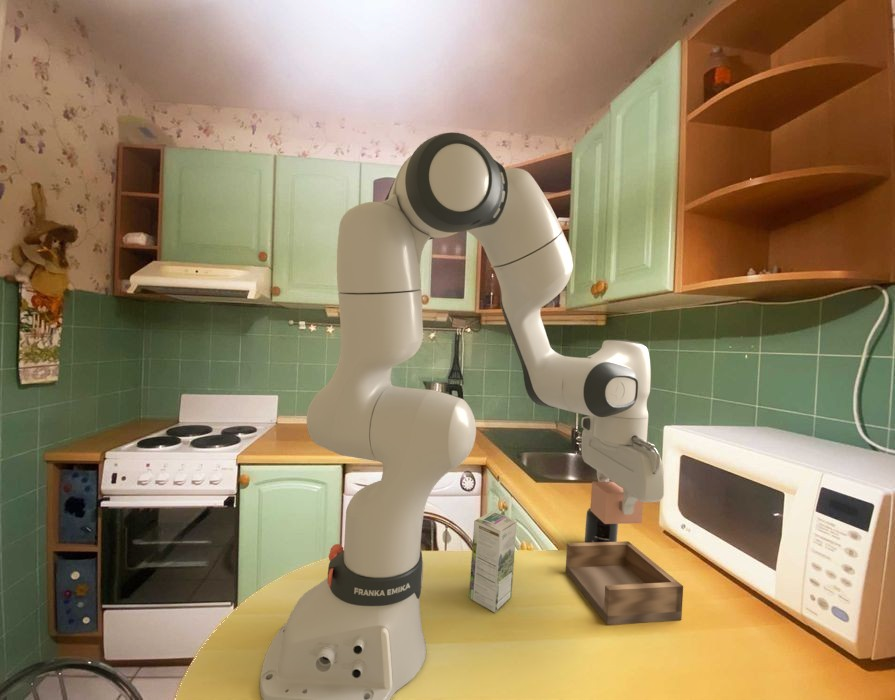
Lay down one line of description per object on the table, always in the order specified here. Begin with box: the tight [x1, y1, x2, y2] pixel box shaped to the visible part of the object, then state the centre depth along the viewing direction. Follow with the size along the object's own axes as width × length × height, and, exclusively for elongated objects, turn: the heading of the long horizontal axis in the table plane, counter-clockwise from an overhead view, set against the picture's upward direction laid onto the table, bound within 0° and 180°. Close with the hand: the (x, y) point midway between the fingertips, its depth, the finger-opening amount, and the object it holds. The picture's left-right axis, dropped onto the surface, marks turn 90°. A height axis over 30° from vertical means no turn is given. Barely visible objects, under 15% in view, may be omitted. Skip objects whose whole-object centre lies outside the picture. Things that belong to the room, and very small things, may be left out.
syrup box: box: [468, 511, 517, 613], centre depth 68 cm, size 6×6×14 cm
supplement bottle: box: [583, 507, 619, 543], centre depth 86 cm, size 7×7×12 cm
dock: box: [565, 540, 684, 626], centre depth 71 cm, size 14×15×6 cm
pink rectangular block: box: [589, 481, 644, 525], centre depth 68 cm, size 7×5×6 cm
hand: (615, 504), depth 68 cm, fingers closed on pink rectangular block, 5 cm apart
